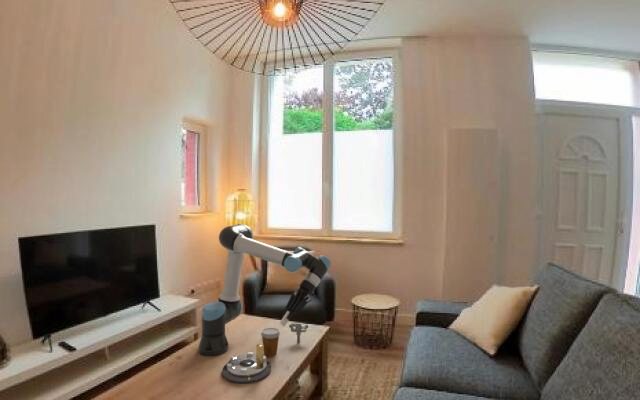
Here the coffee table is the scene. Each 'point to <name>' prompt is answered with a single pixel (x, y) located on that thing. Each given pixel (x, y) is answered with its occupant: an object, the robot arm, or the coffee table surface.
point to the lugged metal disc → (248, 363)
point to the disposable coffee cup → (270, 341)
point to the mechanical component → (298, 330)
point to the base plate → (246, 379)
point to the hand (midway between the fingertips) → (282, 324)
